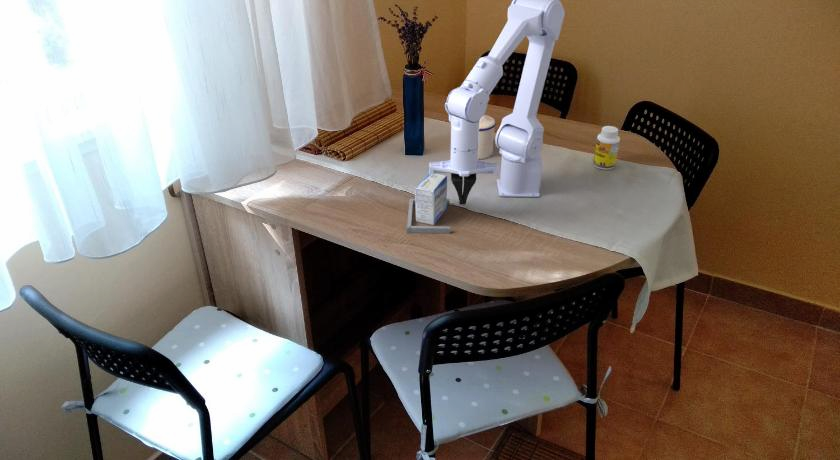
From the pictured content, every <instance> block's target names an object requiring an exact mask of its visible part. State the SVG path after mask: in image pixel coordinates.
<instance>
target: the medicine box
mask: <svg viewBox="0 0 840 460" xmlns="http://www.w3.org/2000/svg"><path fill="white" fill-rule="evenodd" d="M414 193H415V195H414V196H415V198H414V199H415V201H416V205H415V221H416V222H417V223H422V224H426V225H430V226H435V225H436V223H437V222H438V220H439V219H440V218H441V217H442V215H443V214H444V213H445V211H446V210H447V207H448V205H447V199H448V176H447V175H444V174H441V173H435V174H434V175H430V174H429V173H428V175H426V176H425V177H424V178H423V179H422V180H421V182H420V183H419V184H418V185H417V186H416V187H415V191H414Z"/></svg>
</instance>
